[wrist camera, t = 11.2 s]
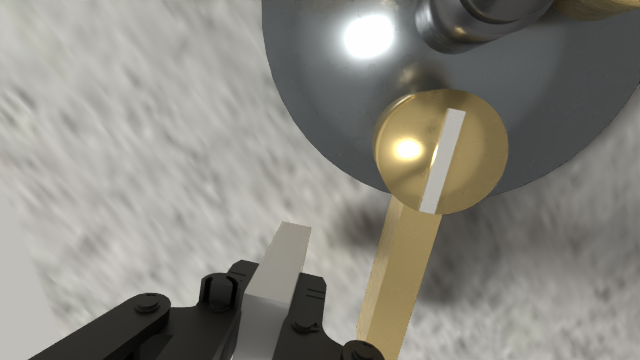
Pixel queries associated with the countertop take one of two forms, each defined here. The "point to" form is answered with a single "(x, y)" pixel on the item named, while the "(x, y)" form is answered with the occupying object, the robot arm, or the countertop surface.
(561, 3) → the knob
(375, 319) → the knob
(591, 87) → the tribrach plate
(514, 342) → the countertop surface
